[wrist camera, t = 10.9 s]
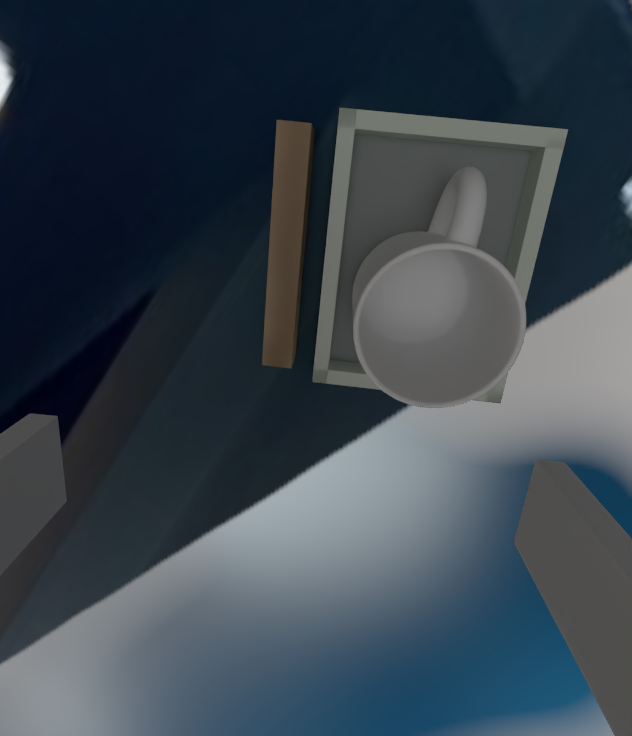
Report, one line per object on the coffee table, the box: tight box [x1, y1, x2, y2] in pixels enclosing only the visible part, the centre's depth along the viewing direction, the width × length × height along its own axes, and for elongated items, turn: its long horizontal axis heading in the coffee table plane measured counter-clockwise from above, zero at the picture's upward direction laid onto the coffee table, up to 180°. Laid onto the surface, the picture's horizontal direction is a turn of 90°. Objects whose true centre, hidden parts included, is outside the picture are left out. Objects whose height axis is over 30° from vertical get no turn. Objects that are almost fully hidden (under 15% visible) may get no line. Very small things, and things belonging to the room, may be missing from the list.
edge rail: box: [262, 120, 315, 368], centre depth 31 cm, size 2×15×3 cm, turn 174°
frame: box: [312, 108, 568, 403], centre depth 31 cm, size 13×17×2 cm
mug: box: [352, 167, 526, 408], centre depth 27 cm, size 12×8×10 cm
